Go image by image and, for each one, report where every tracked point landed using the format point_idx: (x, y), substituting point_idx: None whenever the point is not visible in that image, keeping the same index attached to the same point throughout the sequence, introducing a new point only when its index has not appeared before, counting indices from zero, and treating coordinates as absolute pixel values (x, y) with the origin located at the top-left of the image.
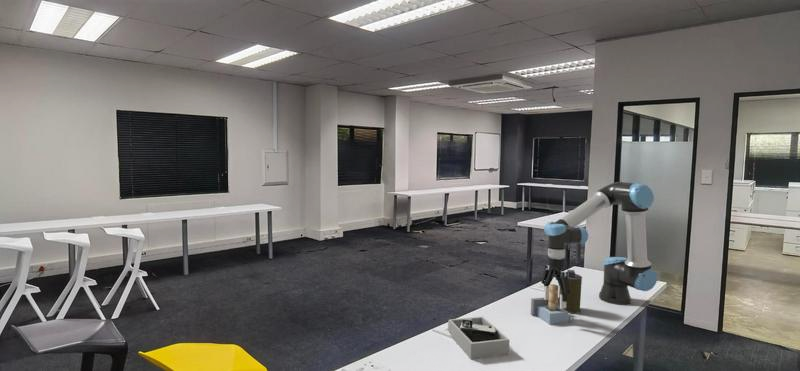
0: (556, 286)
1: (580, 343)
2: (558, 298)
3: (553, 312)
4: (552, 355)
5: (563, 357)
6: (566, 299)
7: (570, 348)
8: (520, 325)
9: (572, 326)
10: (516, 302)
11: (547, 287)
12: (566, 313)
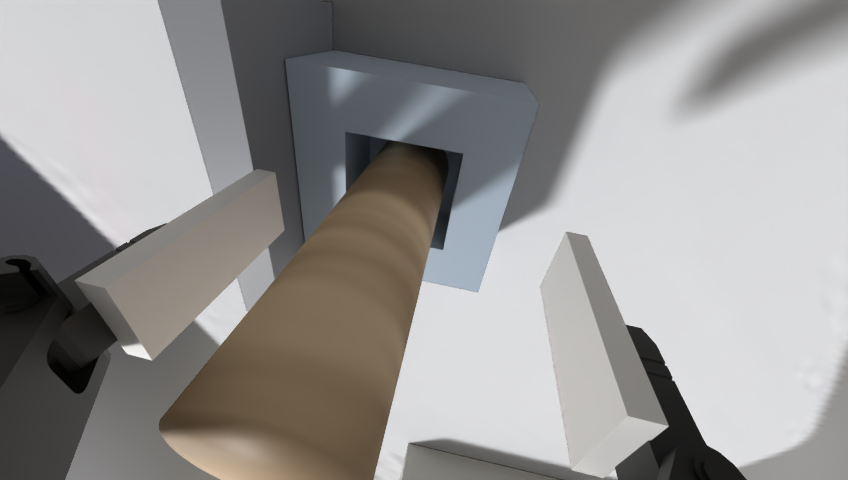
0: (329, 471)
1: (785, 287)
2: (226, 2)
3: (469, 252)
4: (705, 435)
5: (755, 425)
6: (660, 369)
7: (751, 361)
8: (424, 353)
9: (599, 115)
10: (98, 164)
11: (150, 322)
12: (527, 132)
